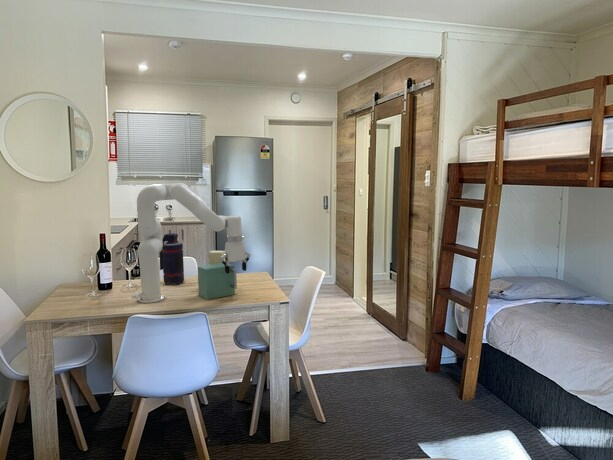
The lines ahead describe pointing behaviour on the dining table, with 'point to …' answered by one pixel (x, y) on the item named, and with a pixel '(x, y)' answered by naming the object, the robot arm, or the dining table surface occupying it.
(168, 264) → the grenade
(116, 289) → the dining table surface
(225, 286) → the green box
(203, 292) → the cooler
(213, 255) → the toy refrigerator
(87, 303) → the dining table surface
